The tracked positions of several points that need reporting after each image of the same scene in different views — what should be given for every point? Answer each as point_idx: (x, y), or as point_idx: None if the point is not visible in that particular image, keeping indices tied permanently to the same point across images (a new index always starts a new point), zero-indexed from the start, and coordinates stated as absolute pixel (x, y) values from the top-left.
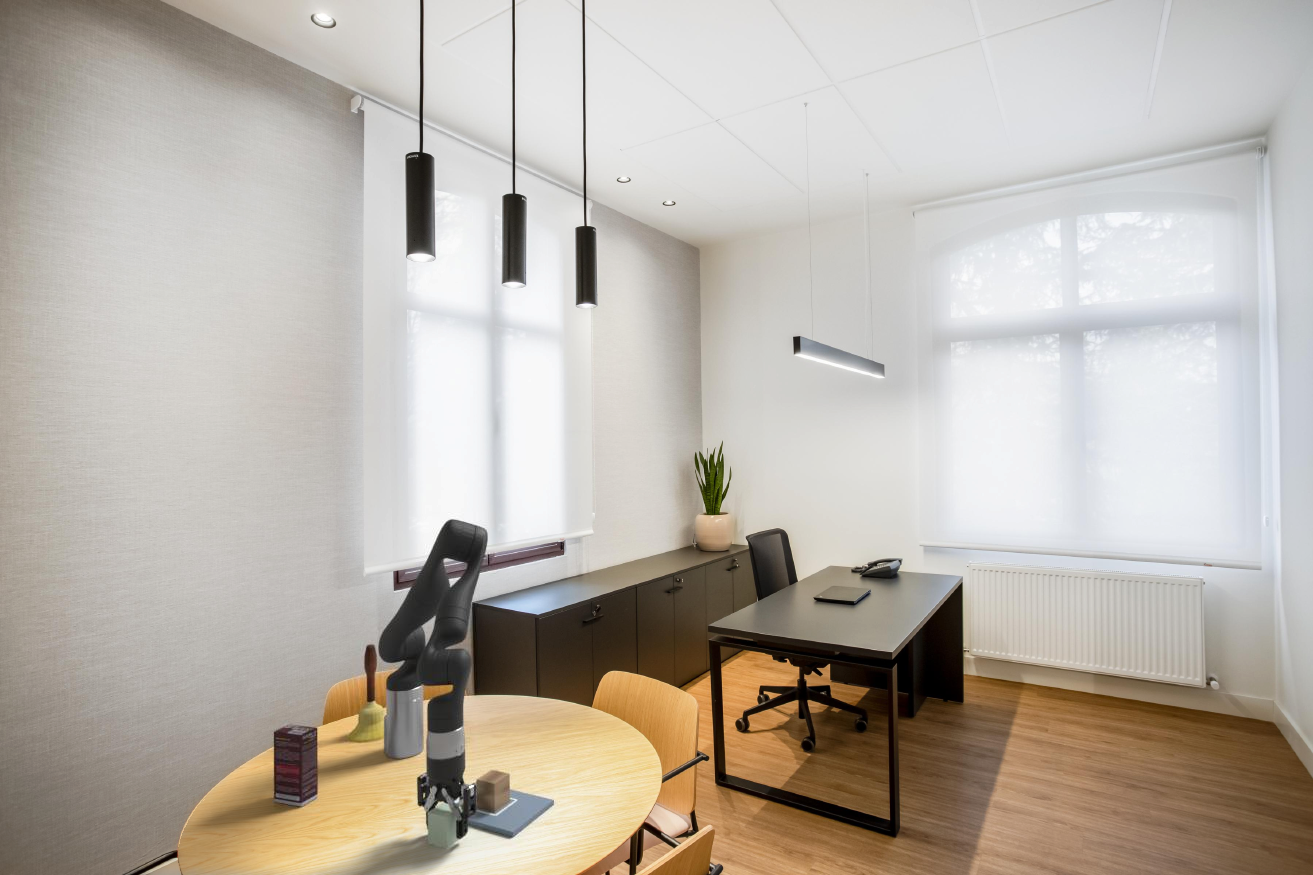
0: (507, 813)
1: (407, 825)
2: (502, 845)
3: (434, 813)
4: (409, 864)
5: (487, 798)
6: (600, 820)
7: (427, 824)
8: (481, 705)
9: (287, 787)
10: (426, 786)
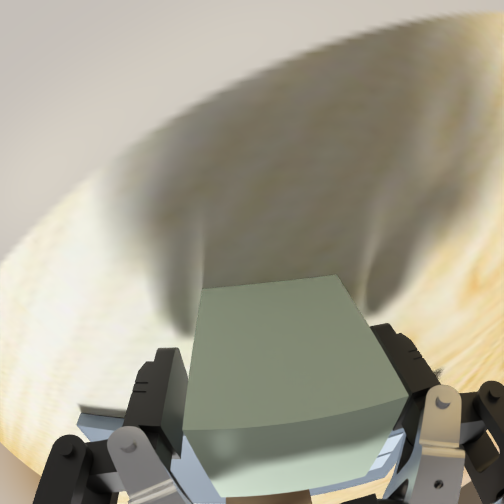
0: (185, 470)
1: (478, 302)
2: (57, 377)
3: (342, 416)
4: (262, 80)
5: (259, 497)
6: (42, 461)
7: (396, 337)
8: (464, 482)
9: None
10: (499, 489)
